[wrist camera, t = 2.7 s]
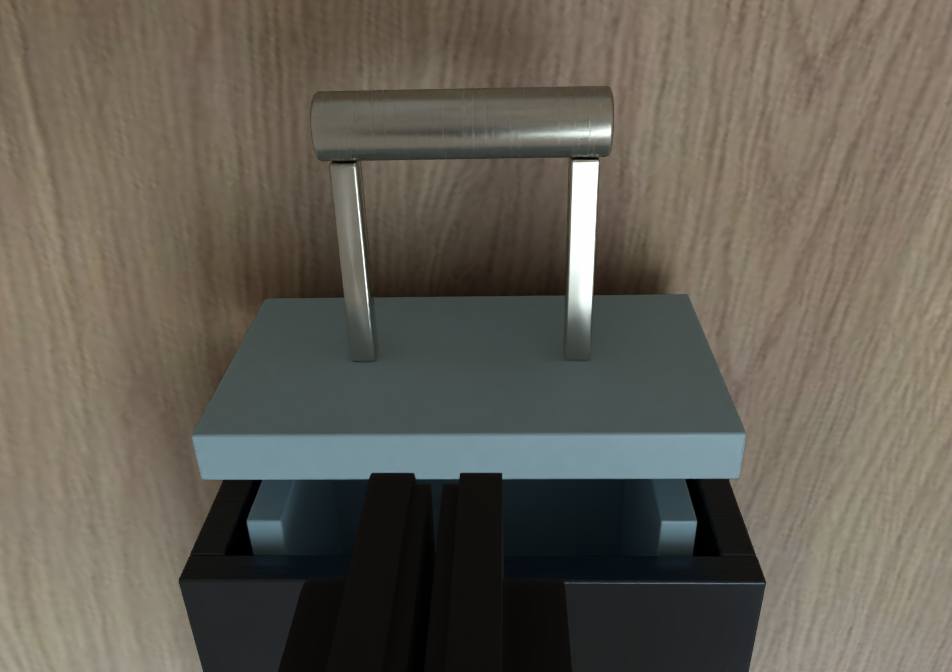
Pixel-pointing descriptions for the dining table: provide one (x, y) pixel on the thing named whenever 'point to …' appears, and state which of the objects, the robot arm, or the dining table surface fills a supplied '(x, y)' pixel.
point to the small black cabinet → (586, 578)
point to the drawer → (473, 363)
